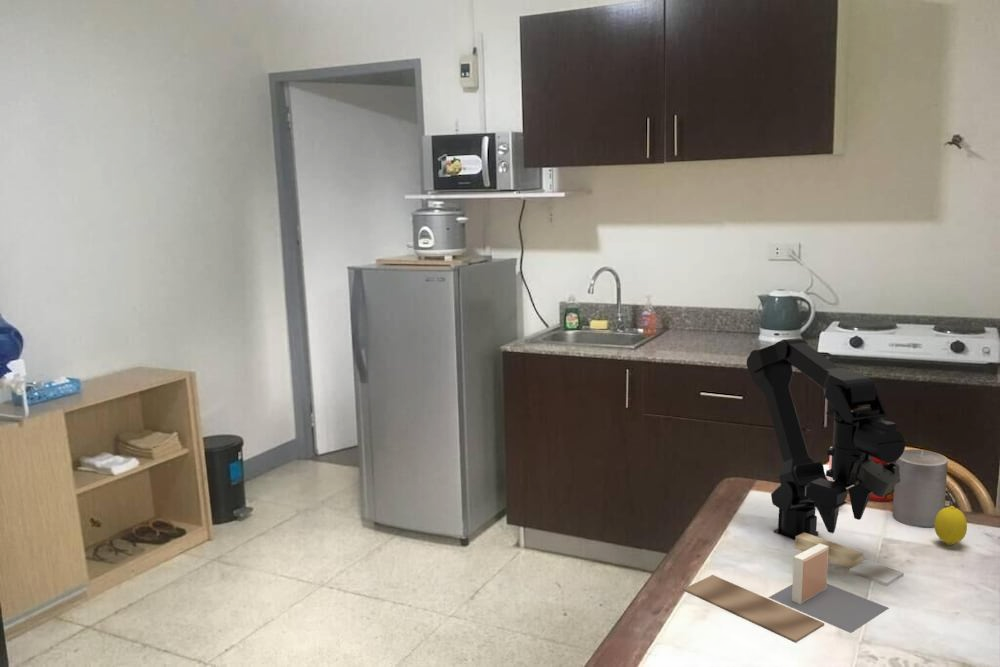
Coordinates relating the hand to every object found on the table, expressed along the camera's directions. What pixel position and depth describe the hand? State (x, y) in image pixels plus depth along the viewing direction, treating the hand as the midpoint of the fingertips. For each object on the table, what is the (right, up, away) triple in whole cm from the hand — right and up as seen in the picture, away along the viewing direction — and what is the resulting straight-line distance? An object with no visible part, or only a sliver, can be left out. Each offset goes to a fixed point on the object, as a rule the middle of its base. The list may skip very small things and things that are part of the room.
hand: (844, 525), depth 156 cm
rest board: (-22, -11, -14) cm, 28 cm away
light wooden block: (0, -8, +1) cm, 8 cm away
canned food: (+21, -1, +34) cm, 40 cm away
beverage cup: (+7, -3, +27) cm, 28 cm away
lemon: (+24, -6, +8) cm, 26 cm away
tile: (-11, -9, -11) cm, 18 cm away
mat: (-8, -10, -13) cm, 19 cm away
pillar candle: (+24, -4, +21) cm, 32 cm away
